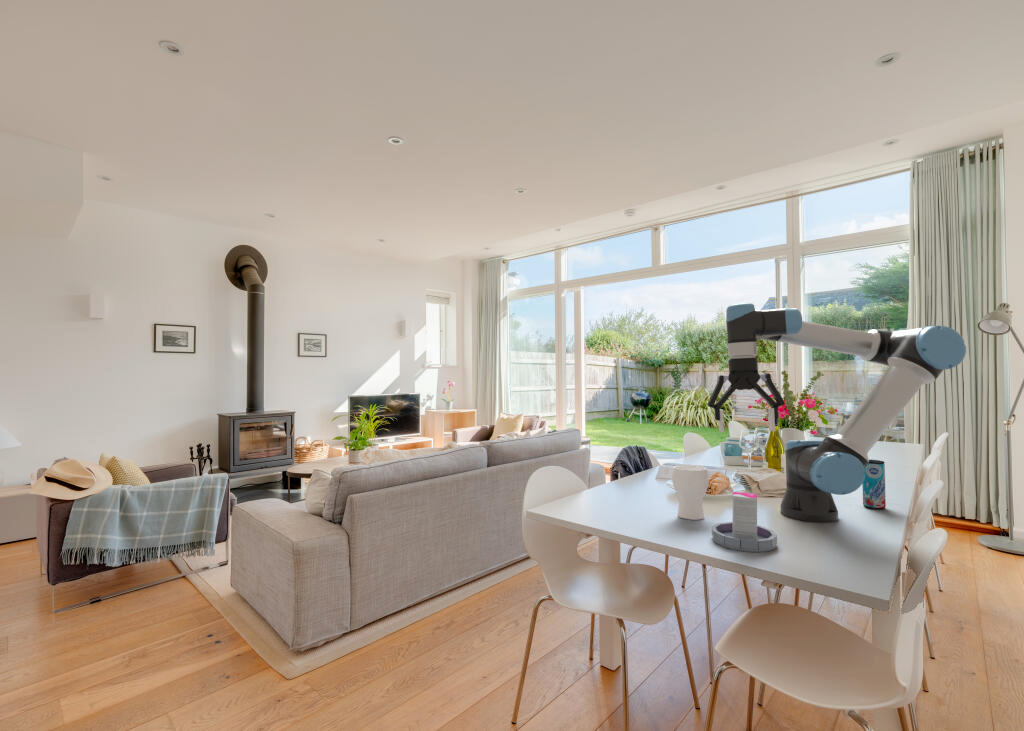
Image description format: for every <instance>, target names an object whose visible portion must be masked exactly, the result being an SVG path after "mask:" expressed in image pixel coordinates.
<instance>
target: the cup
mask: <svg viewBox="0 0 1024 731" xmlns="http://www.w3.org/2000/svg"><path fill="white" fill-rule="evenodd" d="M671 480H672V481H671V482H672V485H673V488H674V491H675V492H676V494H677V499H678V508H677V517H679V518H682V519H685V520H693V521H694V520H695V521H697V520H703V519H704V518H705V513H704V508H703V503H704V496H705V494H706V493H707V490H708V487H709V484H710V482H709V480H710V479H709V473H708V470H707V467H705V466H702V465H697V464H677V465H674V466H673V469H672V474H671Z"/></svg>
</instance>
